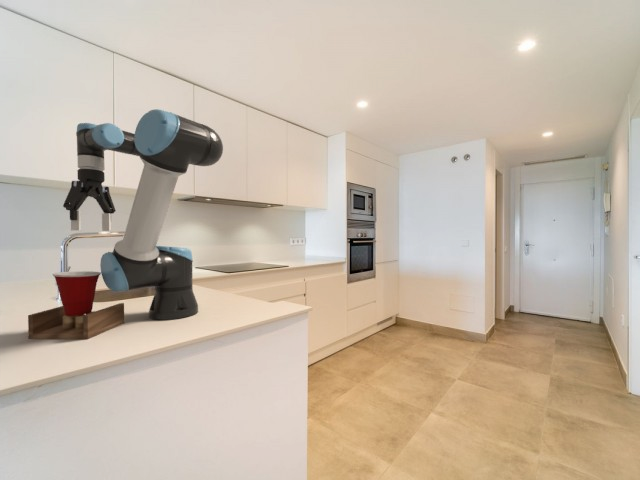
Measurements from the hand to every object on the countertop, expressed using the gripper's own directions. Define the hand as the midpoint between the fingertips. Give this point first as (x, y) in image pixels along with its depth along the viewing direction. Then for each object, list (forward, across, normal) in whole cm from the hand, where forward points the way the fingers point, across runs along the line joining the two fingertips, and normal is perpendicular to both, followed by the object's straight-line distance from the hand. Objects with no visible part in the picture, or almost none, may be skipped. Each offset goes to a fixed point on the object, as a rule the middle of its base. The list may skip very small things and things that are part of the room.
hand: (92, 230), depth 106 cm
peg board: (+29, +20, +12) cm, 37 cm away
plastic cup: (+24, +20, +12) cm, 33 cm away
